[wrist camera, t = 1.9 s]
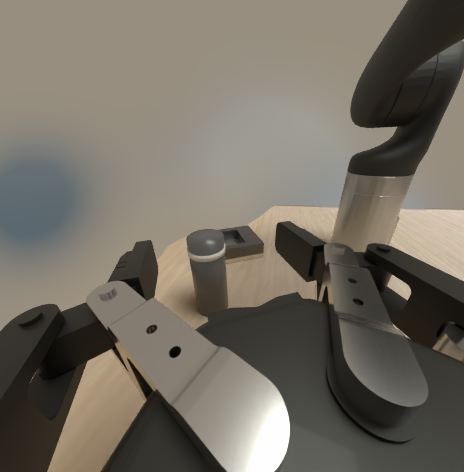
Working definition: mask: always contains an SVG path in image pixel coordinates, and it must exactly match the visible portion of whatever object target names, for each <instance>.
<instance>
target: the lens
mask: <svg viewBox="0 0 464 472" xmlns="http://www.w3.org/2000/svg"><path fill="white" fill-rule="evenodd" d="M186 240H187V246H188V247H187V251H188V256H189V258H190V264H191V270H192V276H193V282H194V288H195V294H196V300H197V306H198V310H199V312H200V313H201V314H202V315H204V316H207V317H208V315H207V314H208V313H212V312H216V311H220V310H224V309H227V307H228V295H227V279H226V263H225V243H224V234H223V233H222V232H220V231H218V230H213V229H204V230H198V231H196V232H193V233H191V234H190V235H188V236H187V239H186Z"/></svg>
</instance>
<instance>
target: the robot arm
mask: <svg viewBox="0 0 464 472" xmlns="http://www.w3.org/2000/svg"><path fill="white" fill-rule="evenodd" d="M463 39H464V0H408V1H407V3H406V4H405V6H404V7H403V9H402V11H401V12H400V14H399V15H398V17H397V18H396V20H395V21H394V23H393V25H392V26H391V28H390V29H389V31H388V32H387V34H386V35H385V37H384V38H383V40H382V42H381V43H380V45H379V46H378V48H377V49H376V51H375V52H374V54H373V56H372V57H371V59H370V60H369V62H368V64H367V66H366V67H365V69H364V71H363V73H362V75H361V77H360V79H359V81H358V84H357V86H356V89H355V91H354V94H353V98H352V102H351V110H350V112H351V118H352V121H353V122H354V123H355V124H356V125H358V126H360V127H365V128H380V127H397V129H396V131H395V133H394V135H393V136H392V137H391V138H390V139H389V140H388V141H386V142H385V143H383V144H381V145H379V146H377V147H375V148H372V149H370V150H367V151H363V152H360V153H357V154H355V155H354V156H353V157H352V158H351V160H350V163H349V166H348V172H347V175H346V179H345V184H344V188H343V192H342V197H341V201H340V205H339V210H338V214H337V218H336V222H335V227H334V231H333V235H332V239H331V243H325V242H324V241H322V240H321V239H319V238H317V237H316V236H314V235H313V234H311V233H309V232H308V231H306V230H305V229H302V228H299V227H298V226H296V225H295V224H293V223H292V222H290V221H286V222H279V223H278V224H277V227H276V239H275V247H276V250H277V252H278V253H279V254H280V255H281V256H282V257H283V258H284V259H285V260H286V261H287V262H288V263H289V264H290V266H291V267H292V268H293V269H294V270H295V271H296V272H297V273H298V274H299V275H300V276H301V277H302V278H303V279H304V280H305V281H306V282H310V281H314V280H316V286H315V300H312V299H303V298H302V297H301V296H300V295H299V293H298V292H296V293H292V294H288V295H283V296H279V297H276V298H274V299H272V300H270V301H268V302H267V303H265V304H263V305H261V306H259V307H245V308H229V309H224V310H220V311H216V312H212V313H208V314H207V315H208V322H207V323H205V324H203V325H201V326H200V327H198V328H197V329H196V330H195V329H193V328H192V327H191V326H190V325H188V324H187V323H186V322H184V321H183V320H182V319H181V318H179V317H178V316H177V315H176V314H174V313H173V312H172V311H170V310H169V309H168V308H167V307H165V306H164V305H163V304H162V303H160V302H159V301H158V300H156V299H155V298H154V295H155V289H156V283H157V276H158V265H157V260H156V257H155V253H154V249H153V245H152V242H151V240H147V241H140V242H136V244H135V246H134V248H133V251H129V252H126V253H125V254H124V255H123V256H122V257H121V258H120V259H119V262H118V264H117V265H116V267H115V269H114V271H113V273H112V275H111V277H110V279H109V280H108V282H107V283H105V284H103V285H101V286H99V287H97V288H96V289H94V290H93V291H92V292H91V293H90V294H89V295H88V296H87V298H86V303H83V304H81V305H78V306H76V307H73V308H70V309H67V310H65V311H62V312H61V311H60V309H59V308H58V306H57V305H55V304H46V305H41V306H38V307H35V308H32V309H30V310H28V311H26V312H24V313H22V314H21V315H19V316H17V317H16V318H14V319H13V320H12V321H10V322H9V323H8V324H7V325H6V326H5V327H4V328H3V329H2V330H1V331H0V472H47V470H48V468H49V465H50V462H51V459H52V457H53V454H54V451H55V448H56V446H57V443H58V440H59V437H60V435H61V432H62V429H63V426H64V424H65V421H66V418H67V416H68V413H69V410H70V407H71V405H72V402H73V399H74V396H75V394H76V391H77V388H78V385H79V383H80V380H81V377H82V374H83V372H84V369H85V366H86V363H87V361H88V360H90V359H92V358H94V357H96V356H98V355H100V354H102V353H104V352H106V351H108V350H110V349H111V351H112V352H113V354H114V355H115V356H116V358H117V359H118V361H119V362H120V364H121V365H122V366H123V368H124V369H125V371H126V372H127V373H128V375H129V376H130V378H131V379H132V381H133V382H134V384H135V386H136V387H137V389H138V391H139V392H140V394H141V396H142V397H143V399H144V400H145V403H144V405H143V406H142V408H141V410H140V411H139V413H138V414H137V416H136V417H135V419H134V421H133V422H132V424H131V425H130V427H129V428H128V430H127V431H126V433H125V435H124V436H123V438H122V439H121V441H120V442H119V444H118V446H117V447H116V449H115V450H114V452H113V453H112V455H111V457H110V458H109V460H108V461H107V463H106V464H105V466H104V467H103V469H102V471H101V472H464V281H462V280H460V279H457V278H455V277H453V276H451V275H449V274H447V273H445V272H443V271H441V270H439V269H437V268H435V267H433V266H431V265H429V264H427V263H425V262H423V261H420V260H418V259H416V258H414V257H412V256H410V255H408V254H406V253H404V252H402V251H400V250H398V249H396V248H394V247H391V246H389V243H390V241H391V238H392V236H393V233H394V231H395V228H396V226H397V223H398V221H399V217H398V214H399V212H400V209H401V207H402V204H403V202H404V199H405V197H406V194H407V191H408V189H409V186H410V184H411V181H412V178H413V176H414V173H415V171H416V169H417V166H418V164H419V163H420V161H421V160H422V158H423V157H424V155H425V154H426V152H427V150H428V148H429V146H430V144H431V141H432V139H433V137H434V135H435V132H436V130H437V128H438V126H439V124H440V121H441V119H442V117H443V115H444V113H445V111H446V109H447V107H448V105H449V103H450V101H451V99H452V96H453V94H454V92H455V90H456V87H457V85H458V83H459V81H460V78H461V75H462V72H463V69H464V42H463V41H461V40H463ZM391 275H394V276H395V277H397V278H399V279H400V280H402V281H403V282H405V283H406V284H408V285H409V287H410V289H411V295H410V297H409V299H408V301H407V300H406V299H404V298H403V297H401V296H400V295H399V294H397V293H396V292H394V291H393V290H391V289H390V288H389V287H387V285H388V282H389V280H390V278H391ZM392 323H393V324H394V325H395V326H396V327H397V328H399V329H400V330H401V331H402V332H403V333H404V334H406V335H407V336H408V337H409V338H410V339H409V338H406V337H405V335H404V334H403V333H402V332H401V331H400V330H397V329H395V328H394V326H393V324H392ZM35 372H36V374H35ZM34 374H35V375H34ZM33 376H34V377H33ZM32 377H33V379H32ZM31 379H32V380H31ZM30 381H31V382H30ZM29 383H30V384H29Z"/></svg>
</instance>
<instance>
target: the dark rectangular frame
mask: <svg viewBox="0 0 464 472" xmlns="http://www.w3.org/2000/svg"><path fill="white" fill-rule="evenodd" d="M218 231H220V232H222V233H223V234H224V243H225V263H226V264H228V263H233V262H239V261H244V260H249V259H255V258H260V257H263V249H264V243H263V242H262V241H261V239H260V238H259V237H258V236H257V235H256V234H255V233H254V232H253V231H252V229H251V228H250V227H249V226H242V227H235V228H228V229H221V230H218Z"/></svg>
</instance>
